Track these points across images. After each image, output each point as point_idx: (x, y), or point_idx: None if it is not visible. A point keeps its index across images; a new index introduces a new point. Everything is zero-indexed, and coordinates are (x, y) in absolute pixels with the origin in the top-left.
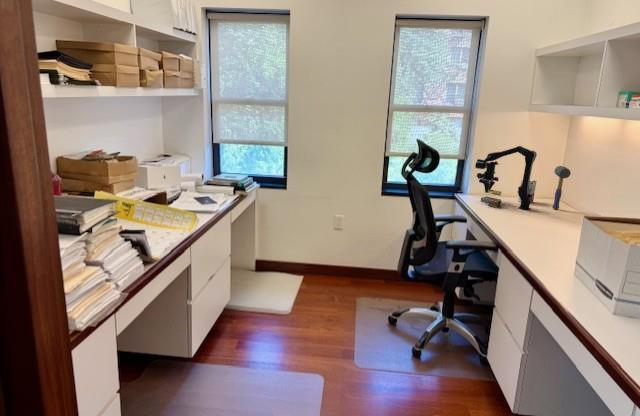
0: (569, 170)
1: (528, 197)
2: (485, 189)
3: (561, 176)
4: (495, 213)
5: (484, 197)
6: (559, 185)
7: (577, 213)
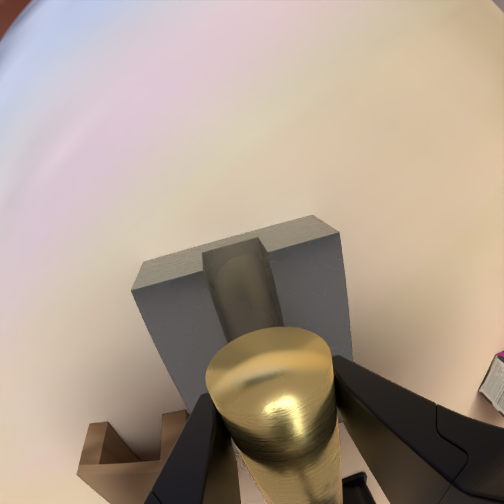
0: None
1: None
2: (183, 448)
3: None
4: (44, 498)
5: (265, 251)
6: None
7: None
